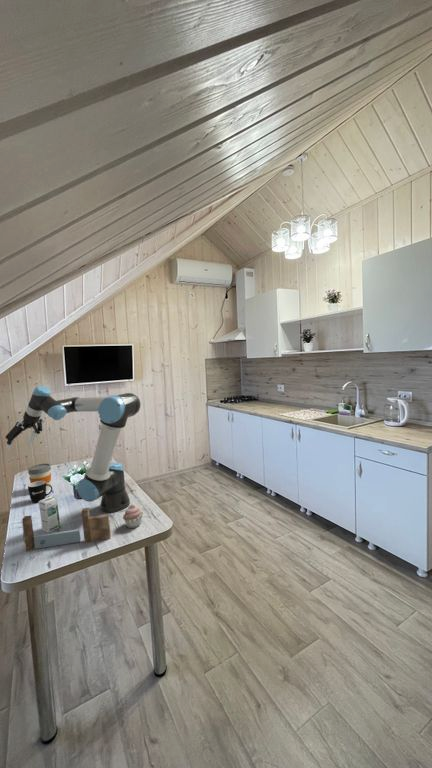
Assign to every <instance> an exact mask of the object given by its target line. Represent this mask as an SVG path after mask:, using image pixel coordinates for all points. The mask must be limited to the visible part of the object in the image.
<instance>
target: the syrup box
mask: <svg viewBox="0 0 432 768" xmlns="http://www.w3.org/2000/svg"><path fill="white" fill-rule="evenodd" d="M38 507H39V516H40V520H41V521H40V522H41V529H42V531H44V532H46V533H47V534H50V533H52V532H53V531H56V530H57V529H59V528H61V522H60V513H59V512H60V511H59V505H58V498H57V497H55V496H48V497H45V499H43V500H40V501H39V502H38Z"/></svg>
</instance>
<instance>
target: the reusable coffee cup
mask: <svg viewBox="0 0 432 768" xmlns="http://www.w3.org/2000/svg"><path fill="white" fill-rule="evenodd" d="M51 469H52V468H51V464H50V463H38V464H35V465H32V466H29V467H28V472H27V473H28V475H29V482H30V484H31V483H33V482H37V481H45V482H46V484H49V485H51V481H52V473H51ZM49 490H51V487H50V486H46V492H47V491H49Z"/></svg>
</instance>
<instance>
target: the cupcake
mask: <svg viewBox="0 0 432 768" xmlns="http://www.w3.org/2000/svg"><path fill="white" fill-rule="evenodd" d="M124 510H125V511H124V514H122V516H123V517H122V519H123V521H124V522H125V524H126V527H127V528H129V529H135V528H139V526H140V525H141V523H142V518H143V515H144V512H142V510H141V509H140V507H138V506H137V505H136V504H133V503H132V504H130V505H129V506H128V507H127V508H125V509H124Z"/></svg>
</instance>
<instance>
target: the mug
mask: <svg viewBox="0 0 432 768" xmlns="http://www.w3.org/2000/svg"><path fill="white" fill-rule="evenodd" d="M46 486H50V491H49V492H48V493H47V491H46ZM27 491H28V494H29V499H30V501H31V502H32V503H33V504H39V501H40V500H43V499H45V498H47V496H49V495H50V494H51V493H52V491H53V487H52V485H51V484H50V485H49V484H46V482H45V481H37V482H33V483H31V482H30V483H29V484H28V485H27Z"/></svg>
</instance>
